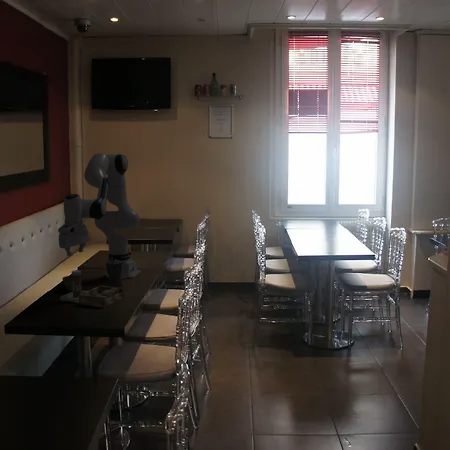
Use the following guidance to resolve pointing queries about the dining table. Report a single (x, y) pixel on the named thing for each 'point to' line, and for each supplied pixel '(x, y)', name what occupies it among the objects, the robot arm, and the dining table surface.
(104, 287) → the rack
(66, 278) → the flower pot
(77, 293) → the sprinkles bottle
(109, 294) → the offcut pine
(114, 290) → the offcut oak
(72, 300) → the tray
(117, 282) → the coffeepot
